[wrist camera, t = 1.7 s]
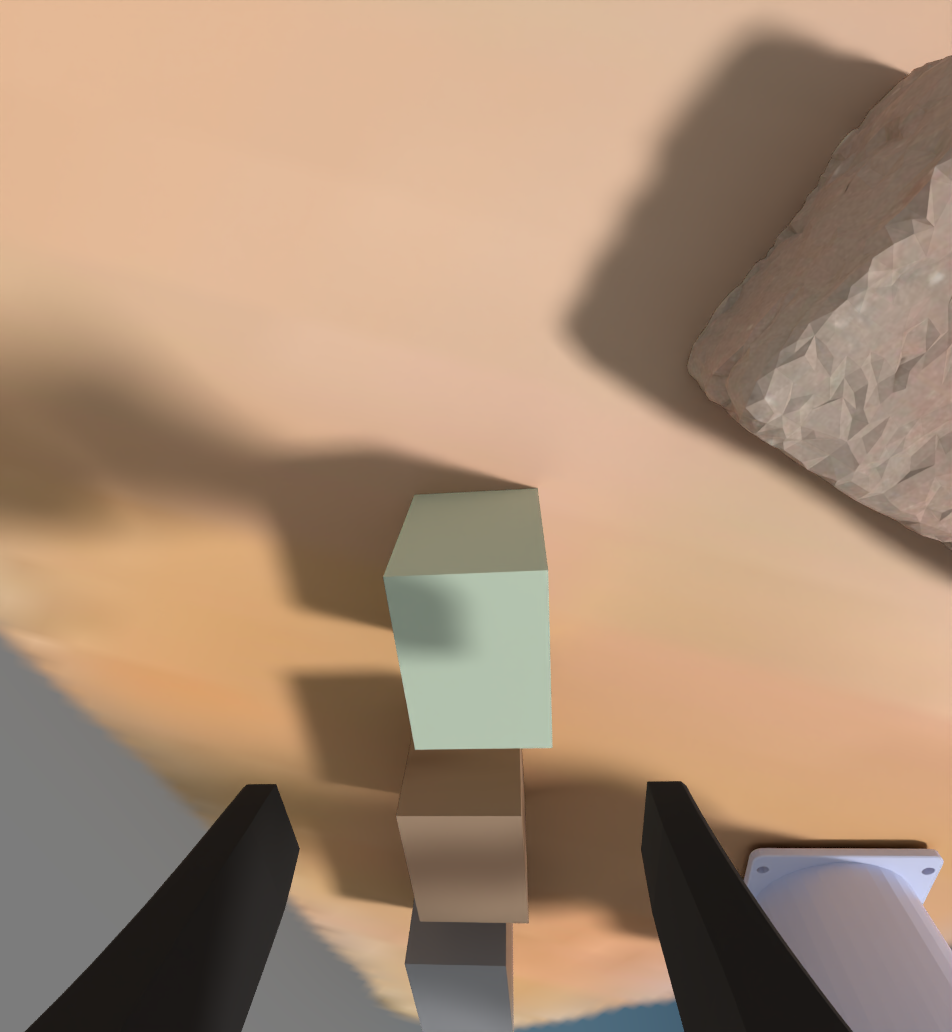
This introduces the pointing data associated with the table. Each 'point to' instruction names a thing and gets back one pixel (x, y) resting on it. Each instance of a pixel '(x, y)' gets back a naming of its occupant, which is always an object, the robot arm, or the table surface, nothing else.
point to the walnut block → (465, 834)
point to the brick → (857, 317)
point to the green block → (473, 620)
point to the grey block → (461, 975)
